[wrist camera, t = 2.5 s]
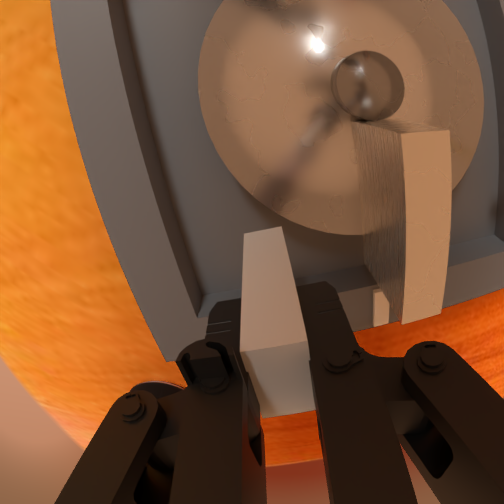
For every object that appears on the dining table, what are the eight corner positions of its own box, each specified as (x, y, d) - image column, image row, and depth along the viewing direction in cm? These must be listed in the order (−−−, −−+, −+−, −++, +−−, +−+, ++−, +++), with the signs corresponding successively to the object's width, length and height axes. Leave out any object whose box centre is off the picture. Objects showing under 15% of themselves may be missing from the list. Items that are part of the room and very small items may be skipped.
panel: (73, -41, 10) (44, -58, 7) (466, -73, 8) (492, -86, 5) (175, 329, 21) (165, 365, 18) (507, 257, 19) (532, 279, 16)
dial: (178, -13, 11) (134, -76, 5) (435, -26, 10) (510, -60, 4) (245, 266, 18) (244, 357, 12) (466, 222, 17) (536, 279, 10)
